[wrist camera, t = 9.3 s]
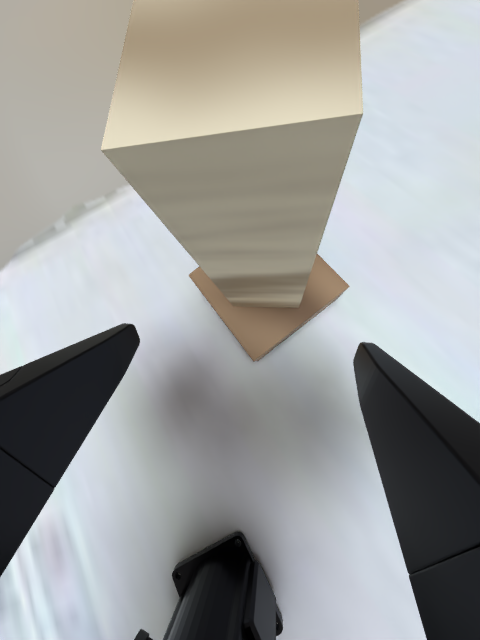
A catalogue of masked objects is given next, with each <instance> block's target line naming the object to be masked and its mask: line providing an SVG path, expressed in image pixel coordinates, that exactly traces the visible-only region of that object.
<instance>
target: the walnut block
mask: <svg viewBox="0 0 480 640" xmlns="http://www.w3.org/2000/svg"><path fill="white" fill-rule="evenodd" d="M189 277H190V278H191V279H192V281H193V282H194V283H195V285H196V286H197V287H198V288H199V290H200V291H201V292H202V294H203V295H204V296H205V298H206V299H207V300H208V302H209V303H210V304H211V306H212V307H213V308H214V310H215V311H216V312H217V314H218V315H219V316H220V318H221V319H222V320H223V322H224V323H225V324H226V326H227V327H228V328H229V329H230V331H231V332H232V333H233V335H234V336H235V337H236V339H237V340H238V341H239V343H240V344H241V345H242V347H243V348H244V349H245V351H246V352H247V353H248V355H249V356H250V357H251V359H252V360H253V361H259V360H260V359H261V358H262V357H264V356H265V355H266V354H267V353H269V352H270V351H271V350H273V349H274V348H275V347H276V346H278V345H279V344H280V343H282V342H283V341H284V340H285V339H287V338H288V337H289V336H290V335H292V334H293V333H294V332H296V331H297V330H298V329H299V328H301V327H302V326H303V325H304V324H306V323H307V322H308V321H310V320H311V319H312V318H313V317H315V316H316V315H317V314H319V313H320V312H321V311H322V310H324V309H325V308H326V307H327V306H329V305H330V304H331V303H333V302H334V301H335V300H336V299H337V298H338V297H339V296H340V295H341V294H342V293H343V292H344V291H345V290H346V289H347V288H348V287H349V285H348V284H347V283H346V282H345V281H344V280H343V279H342V278H341V277H340V276H339V275H338V274H337V273H336V272H335V271H334V270H333V269H332V268H331V267H330V266H329V265H328V264H327V263H326V262H325V261H324V260H323V259H322V258H321V257H320V256H319V255H318V254H316V257H315V260H314V264H313V267H312V270H311V273H310V276H309V279H308V282H307V285H306V288H305V291H304V294H303V297H302V300H301V303H300V306H299V308H290V307H242V306H233V305H232V304H231V303H230V302H229V300H228V299H227V298H226V297H225V296H224V294H223V293H222V292H221V291H220V290H219V289H218V287H217V286H216V285H215V284H214V283H213V282H212V280H211V279H210V278H209V277H208V276H207V274H206V273H205V272H204V271H203V270H202V269H201V267H200V266H199V267H198V268H197V269H196V270H194V271H193V272H192V273H190V274H189Z"/></svg>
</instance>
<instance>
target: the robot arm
mask: <svg viewBox="0 0 480 640" xmlns="http://www.w3.org/2000/svg"><path fill="white" fill-rule="evenodd" d="M139 344H140V338H139V336H138V333H137V330H136V328H135V326H134V325H133V324H126V323H124V324H121V325H118V326H116V327H114V328H111V329H109V330H106V331H104V332H102V333H99V334H97V335H95V336H92V337H90V338H87V339H85V340H83V341H80V342H78V343H75V344H73V345H71V346H68V347H66V348H64V349H61V350H59V351H56V352H54V353H52V354H49V355H47V356H45V357H42V358H40V359H37V360H35V361H33V362H30V363H28V364H26V365H24V366H21V367H18V368H16V369H13V370H11V371H9V372H6V373H4V374H1V375H0V577H1V575H2V574H3V572H4V570H5V569H6V567H7V566H8V564H9V562H10V561H11V559H12V557H13V556H14V554H15V553H16V551H17V549H18V548H19V546H20V544H21V543H22V541H23V539H24V538H25V536H26V535H27V533H28V531H29V530H30V528H31V526H32V525H33V523H34V522H35V520H36V518H37V517H38V515H39V513H40V512H41V510H42V509H43V507H44V505H45V504H46V502H47V500H48V499H49V497H50V496H51V494H52V492H53V491H54V488H55V487H56V485H57V484H58V482H59V481H60V479H61V477H62V476H63V474H64V472H65V471H66V469H67V468H68V466H69V464H70V463H71V461H72V459H73V458H74V456H75V455H76V453H77V451H78V450H79V448H80V446H81V445H82V443H83V442H84V440H85V438H86V437H87V435H88V433H89V432H90V430H91V429H92V427H93V425H94V424H95V422H96V420H97V419H98V417H99V416H100V414H101V412H102V411H103V409H104V407H105V406H106V404H107V402H108V401H109V399H110V398H111V396H112V394H113V393H114V391H115V389H116V388H117V386H118V385H119V383H120V381H121V380H122V378H123V376H124V375H125V373H126V371H127V369H128V367H129V365H130V363H131V361H132V358H133V356H134V354H135V352H136V350H137V348H138V346H139ZM353 365H354V371H355V378H356V384H357V390H358V397H359V402H360V407H361V410H362V414H363V417H364V421H365V424H366V428H367V431H368V435H369V438H370V442H371V445H372V449H373V452H374V456H375V459H376V463H377V466H378V470H379V473H380V477H381V480H382V484H383V487H384V491H385V494H386V498H387V501H388V505H389V508H390V512H391V515H392V519H393V522H394V526H395V529H396V533H397V536H398V540H399V543H400V547H401V550H402V554H403V557H404V561H405V564H406V568H407V571H408V573H409V574H410V575H409V579H410V582H411V586H412V589H413V593H414V596H415V600H416V603H417V607H418V610H419V614H420V617H421V621H422V624H423V628H424V631H425V635H426V638H427V640H480V423H479V422H477V421H476V420H475V419H473V418H472V417H471V416H469V415H468V414H467V413H465V412H464V411H463V410H461V409H460V408H459V407H457V406H456V405H455V404H453V403H452V402H451V401H450V400H448V399H447V398H446V397H444V396H443V395H442V394H440V393H439V392H438V391H436V390H435V389H434V388H432V387H431V386H430V385H428V384H427V383H426V382H424V381H423V380H422V379H420V378H419V377H418V376H416V375H415V374H414V373H412V372H411V371H410V370H408V369H407V368H406V367H404V366H403V365H402V364H400V363H399V362H398V361H396V360H395V359H394V358H393V357H391V356H390V355H389V354H387V353H386V352H385V351H383V350H382V349H381V348H379V347H378V346H377V345H375V344H374V343H366V342H361V343H360V344H359V346H358V349H357V351H356V354H355V357H354V362H353ZM236 539H239V540H240V541H241V542H240V543H238V542H237V541H236ZM178 572H179V573H180V574H181V575H179V574H178ZM172 577H173V580H174V583H175V586H176V588H177V591H178V594H179V596H180V599H179V601H178V604H177V606H176V609H175V611H174V613H173V616H172V618H171V621H170V623H169V626H168V628H167V631H166V633H165V636H164V638H163V640H276V636H278V635H280V634H281V633H282V630H283V620H282V616H281V614H280V612H279V610H278V608H277V606H276V598H275V595H274V593H273V591H272V589H271V587H270V585H269V583H268V580H267V578H266V576H265V574H264V572H263V570H262V568H261V565H260V563H259V562H258V561H257V560H255V558H254V556H253V554H252V552H251V550H250V548H249V545H248V543H247V541H246V539H245V537H244V535H243V534H242V533H241V532H235V533H233V534H232V535H230V536H228V537H226V538H224V539H222V540H221V541H219V542H217V543H215V544H213V545H212V546H210V547H208V548H206V549H204V550H203V551H201V552H199V553H197V554H195V555H193V556H192V557H190V558H188V559H186V560H184V561H183V562H181V563H179V564H177V565H176V567H175V569H174V571H173V573H172ZM276 622H277V623H278V624H276ZM134 640H153V639H151V638H150V637H149V633H147V632H146V631H144V630H143V629H140V631H139V633H138V634H137V636H136V638H135V639H134Z"/></svg>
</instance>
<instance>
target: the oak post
mask: <svg viewBox="0 0 480 640" xmlns="http://www.w3.org/2000/svg"><path fill="white" fill-rule="evenodd" d="M358 8H359V7H358V0H134V2H133V6H132V10H131V15H130V19H129V24H128V28H127V33H126V38H125V42H124V47H123V51H122V56H121V60H120V65H119V69H118V74H117V79H116V83H115V88H114V92H113V97H112V101H111V106H110V111H109V115H108V120H107V125H106V129H105V133H104V138H103V143H102V147H101V151H102V152H103V153H104V154H105V155H106V157H107V158H108V159H109V160H110V161H111V162H112V164H113V165H114V166H115V167H116V168H117V169H118V171H119V172H120V173H121V174H122V175H123V177H124V178H125V179H126V180H127V181H128V183H129V184H130V185H131V186H132V187H133V188H134V190H135V191H136V192H137V193H138V194H139V196H140V197H141V198H142V199H143V200H144V201H145V203H146V204H147V205H148V206H149V207H150V208H151V210H152V211H153V212H154V213H155V214H156V216H157V217H158V218H159V219H160V220H161V221H162V223H163V224H164V225H165V226H166V227H167V229H168V230H169V231H170V232H171V233H172V234H173V236H174V237H175V238H176V239H177V240H178V241H179V243H180V244H181V245H182V246H183V247H184V249H185V250H186V251H187V252H188V253H189V254H190V256H191V257H192V258H193V259H194V260H195V261H196V263H197V264H198V265H199V266H200V267H201V269H202V270H203V271H204V272H205V273H206V274H207V276H208V277H209V278H210V279H211V280H212V282H213V283H214V284H215V285H216V286H217V287H218V289H219V290H220V291H221V292H222V293H223V294H224V296H225V297H226V298H227V299H228V300H229V302H230V303H231V304H232V305H233V306H242V307H290V308H299V306H300V303H301V300H302V297H303V294H304V291H305V288H306V285H307V282H308V279H309V276H310V273H311V270H312V267H313V264H314V260H315V257H316V254H317V251H318V248H319V245H320V242H321V239H322V236H323V233H324V230H325V227H326V224H327V221H328V218H329V215H330V212H331V209H332V206H333V203H334V200H335V197H336V194H337V191H338V188H339V185H340V182H341V179H342V176H343V173H344V170H345V167H346V163H347V160H348V157H349V154H350V151H351V148H352V145H353V142H354V139H355V136H356V133H357V130H358V127H359V124H360V121H361V118H362V115H363V101H362V77H361V54H360V30H359V9H358Z"/></svg>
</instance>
